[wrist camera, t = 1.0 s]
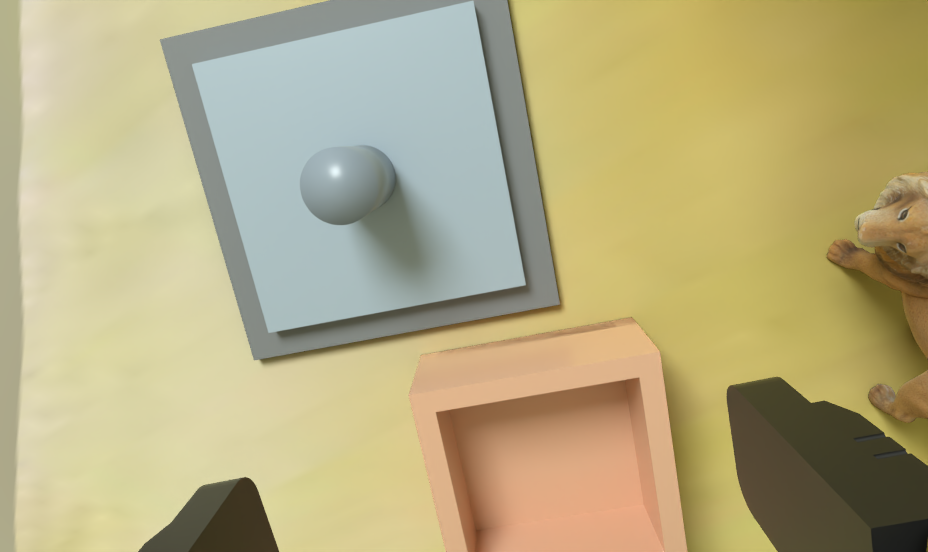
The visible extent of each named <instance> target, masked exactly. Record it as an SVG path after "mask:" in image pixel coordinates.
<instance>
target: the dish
mask: <svg viewBox="0 0 928 552" xmlns="http://www.w3.org/2000/svg"><path fill="white" fill-rule="evenodd" d="M409 399H410V403H411V407H412V411H413V416H414V420H415V424H416V428H417V432H418V437H419V441H420V445H421V449H422V453H423V458H424V462H425V466H426V470H427V474H428V478H429V483H430V487H431V491H432V495H433V499H434V504H435V508H436V512H437V516H438V520H439V525H440V529H441V533H442V537H443V541H444V546H445V550H446V552H687V545H686V538H685V530H684V523H683V516H682V509H681V501H680V494H679V487H678V480H677V472H676V465H675V458H674V451H673V443H672V436H671V429H670V422H669V414H668V407H667V400H666V393H665V385H664V378H663V371H662V364H661V356H660V351H659V350H658V349H657V347H656V346H655V345H654V344H653V343H652V341H651V340H650V339H649V338H648V336H647V335H646V334H645V333H644V331H643V330H642V329H641V328H640V326H639V325H638V324H637V323H636V321H635V320H634V319H633V318H632V317H631V318H625V319H620V320H614V321H609V322H603V323H598V324H592V325H586V326H581V327H575V328H570V329H564V330H558V331H553V332H547V333H542V334H536V335H531V336H525V337H519V338H514V339H508V340H503V341H497V342H491V343H486V344H480V345H475V346H469V347H464V348H458V349H452V350H447V351H441V352H436V353H430V354H425V355H421V356H420V359H419V363H418V366H417V369H416V373H415V376H414V379H413V383H412V386H411V389H410V393H409Z"/></svg>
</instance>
